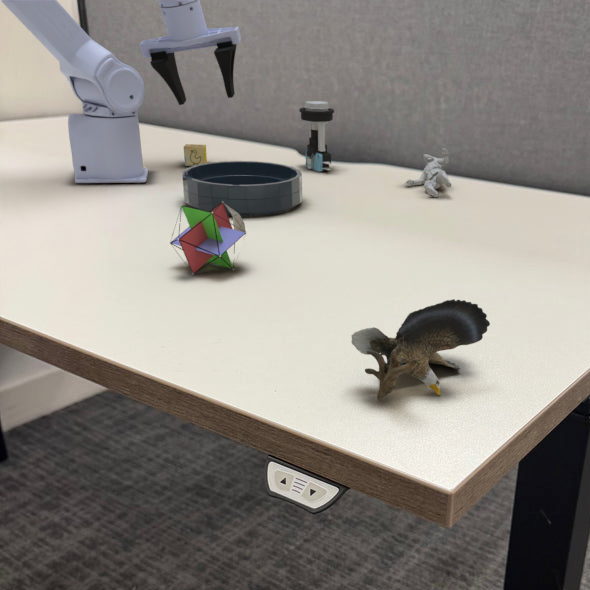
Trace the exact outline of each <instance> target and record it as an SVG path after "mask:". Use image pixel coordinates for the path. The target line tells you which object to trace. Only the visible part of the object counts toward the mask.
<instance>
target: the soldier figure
mask: <svg viewBox="0 0 590 590" xmlns="http://www.w3.org/2000/svg"><path fill="white" fill-rule="evenodd" d="M441 150H442V151H441V154H443V157H441V158H438V157H435V156H432V155H430V154H428V153H427V154H426V153H425V154H422V157H423V160H424V161H425V162H424V163H425V167H424V169H423V170H422V172H421V175H420V177H419V179H407V180H406V181H405V183H404V184H405V185H406V184H407V185H408V187H410V186H422V185H423V187H424V189H425V191H426V193H427V194H428V196H432V197H434V198H438V197H440V194H439V192H438V191H437V190H438V189H439V188H440V187H442V186H443V185H445V186H446V187H447V188H451V187H452V183H451V181H450V180H449V177H448V175H447V173H446V170H443V167H444V166H446V165H447V164H449V162H450V153H449V152H448V148H445V147H443V148H441Z"/></svg>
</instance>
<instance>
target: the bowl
mask: <svg viewBox="0 0 590 590" xmlns="http://www.w3.org/2000/svg"><path fill="white" fill-rule="evenodd" d="M181 172H182V174H181V175H182V176H181V177H182V186H183V187H182V188H183V199H184V202H185V203H186V205H188V206H189V207H191V208H195V209H200V210H204V211H208V212H209V211H210V210H212V209H213V208H214V209H215V207H216V206H217V205H218V206H219V204H220V203H222V202H223V204H224V203H225V204H226V205H228V206H229V207H230V208H232V209H233V210H235V211H236V212H237V213H239V214H240V216H241V218H242V217H243V218H245V217H247V218H248V217H263V216H264V217H265V216H271V215H272V216H273V215H277V214H282V213H286V212H288V211H291V210H293V209H294V208H295V207H296V206H297V205H300V204H301V202H302V201H303V173H302V172H301V170H300V169H298V168H297V167H294V166H290V165H286V164H283V163H276V162H268V161H257V160H229V161H228V160H225V161H224V160H223V161H214V162H207V163H205V164H199V165H195V166H188V167H187V168H185V169H184V170H182V171H181ZM217 202H220V203H217ZM205 203H208V204H205ZM192 204H195V205H192ZM224 206H225V205H224ZM214 209H213V210H214ZM225 209H226V212H227V215H228V217H233V216H232V215H231V213H230V212H229V210H228V209H227V208H226V206H225ZM213 210H212V211H213ZM212 211H210V212H212Z"/></svg>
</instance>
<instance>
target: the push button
mask: <svg viewBox="0 0 590 590" xmlns="http://www.w3.org/2000/svg"><path fill="white" fill-rule="evenodd" d="M298 112H300V120H302V121H304V122H305V123H306V124H308V132H309V133H308V137H309V138H308V143H309V144H307V145H306V149H305V167H306V168H308V169H309V170H314V171H316V172H319V173H320V172H329V171H332V170H333V169H332V168H330V165H333V163H332V154H331V153H330V152H329V151H328V145H327V144H326V125H327V124H329V122H331V121H332V120H334V119H333V118H334V116H333V114H334V113H335V109H334V108H331V107H330V106H329V102H327V101H322V100H308V101H304V106H303V107H300V108H299V111H298Z"/></svg>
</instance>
